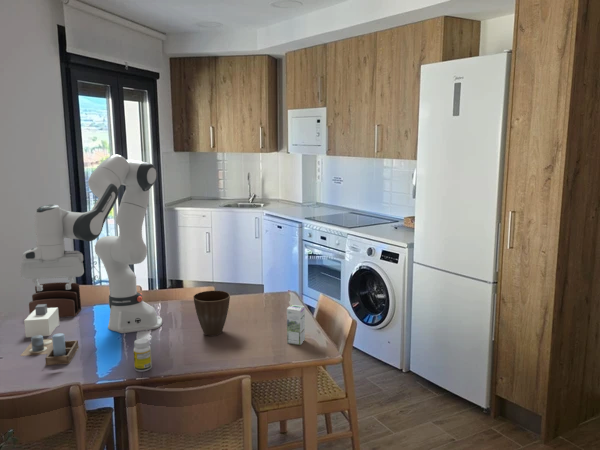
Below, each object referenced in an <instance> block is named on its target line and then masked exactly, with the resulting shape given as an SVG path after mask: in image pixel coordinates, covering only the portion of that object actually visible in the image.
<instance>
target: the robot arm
mask: <svg viewBox="0 0 600 450" xmlns="http://www.w3.org/2000/svg"><path fill="white" fill-rule="evenodd" d="M157 178H158V172H157V168H156V166H155V165H154V164H152V163H150V162H146V161H140V160H137V159H135V160H134V159H126V158H125V157H124V156H123V155H120V154H112V155H110V156H108V157H107V158H106V159H105V160H103V161H101V163H100V164H98V166H97V167H96V168H95V170H93V172H92V173H91V174H90V175H89V178H88V181H87V182H88V183H87V184H88V187H89V190H90V191H91V193H92V194H93V195H95V196H96V197H97V200H96V202H95V203H94V205H93V207H92V209H90V210H88V211H85V212H78V211H77V212H76V211H69V210H66V209H65V208H61V206H60V205H58V204H54V203H53V204H45V205H42V206H40V207H38V208H36V210H35V213H34V233H35V235H36V244H35V245H36V247H33V248H31V249H28V250H26V251H24V252H23V253H22V255H21V258H22V259H23V260H22V261H21V262H20V267H19V268H20V271H19V272H20V278H21V279H22V280H32V283H33V284H34V287H35V286H36V287H37V291H42V290H43V288H42V287H43V285H40V284H41V283H40V282H39V280H41V279H59V278H60V279H61V278H67V279H68V280H67V281H69V282H67V283H68V284H66V285H65V287H66V290H68V289H71V283H73V281H74V279H75V278H81V277H82V276H83V275H84V273H85V269H84V263H83V261H84V255H83V253H82V252H80V251H79V250H66V248H65V245H66V244H65V239H69V240H72V239H73V240H80V241H85V242H93V241H95V240H96V239H97V238H98V237H99V236H100V235H101V234H102V231H103V228H104V224H105V222H106V220H107V218H108V217H109V215H110V213H111V211H112V209H113V207H114V206H115V205H116V202H117V200H118V198H119V193H120V192H119V188H120V187H121V185H122V186H125V190H124V191H123V195H122V197H121V200H120V204H119V207H118V210H117V213H116V217H115V223H116V224H117V226H118V228H119V236H118V235H106V236H102V237H100V238H98V240H97V241H96V242H95V245H94V252H95V254H96V256H97V257H98V258H99V259H100V260H101V262H102V264H103V268H105V271H106V274H107V280H108V286H109V290H108V291H109V295H108V306H109V309H110V311H109V319H108V320H109V321H108V325H107V329H108V330H110V331H113V332H117V333H119V334H126V333H127V334H128V333H134V332H140V331H141V332H143V331H148V330H157V329H159V328H160V327H161V326H162V324H163V318H162V317H160V316H158V314H157V311H156V309H155V307H154V306H152V305H150V304H148V303H147V302H145V301H144V300H143V294H142V292H138V289H137V288H138V285H137V275H136V274H135V272H134V271H133V269H131V266H130V265H137V264H141V263H143V262H144V261H145V260H146V257H147V255H148V247H147V245H146V243H145V242H144V238H143V225H144V221H145V218H146V213H147V208H148V205H149V199H150V189H152V187H153V186H154V184H156V181H157Z"/></svg>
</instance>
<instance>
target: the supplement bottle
mask: <svg viewBox="0 0 600 450" xmlns="http://www.w3.org/2000/svg"><path fill="white" fill-rule="evenodd" d="M133 345H134V347H133V361H134V362H133V364H134V370H135V371H136V372H147V371H149V370H151V369H152V353H151V352H152V349H151V346H150V340H149V339H148V338H146V337H145V338H138V339H135V340H134V344H133Z"/></svg>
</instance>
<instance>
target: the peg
mask: <svg viewBox="0 0 600 450" xmlns="http://www.w3.org/2000/svg"><path fill="white" fill-rule="evenodd" d="M65 336H66V335H65V333H55V334H53V335H52V337H51V338H52V340H53V352H54V356H66V347H65V341H66V337H65Z"/></svg>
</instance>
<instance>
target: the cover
mask: <svg viewBox="0 0 600 450" xmlns="http://www.w3.org/2000/svg"><path fill="white" fill-rule="evenodd" d="M23 322H24V332H25V338H32V337H33V336H37V335H42V336H43V337H51V335H52V334H53V333H54V331H55V330H56V328H57V327H60V317H59V313H58V307H57V308H47V304H39V305H37V306H36V307H35V310H34V311H33V312H32V313H31V314H30V313H29V314H28V316H27V317H26V318H25V319H24V320H23Z"/></svg>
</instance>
